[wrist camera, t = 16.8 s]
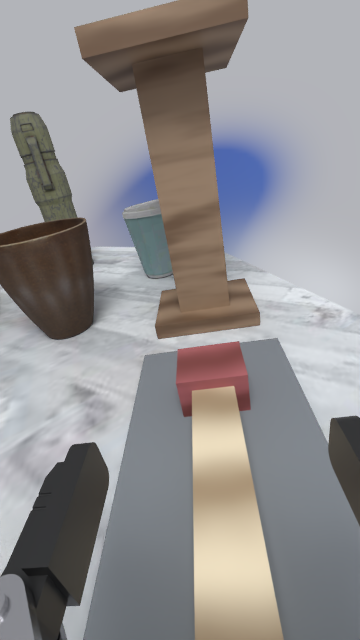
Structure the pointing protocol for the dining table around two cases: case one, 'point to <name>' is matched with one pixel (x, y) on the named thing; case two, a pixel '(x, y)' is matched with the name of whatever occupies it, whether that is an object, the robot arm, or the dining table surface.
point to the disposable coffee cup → (149, 238)
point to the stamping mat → (272, 499)
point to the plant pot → (50, 275)
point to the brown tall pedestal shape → (180, 145)
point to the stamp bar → (225, 501)
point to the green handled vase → (42, 167)
